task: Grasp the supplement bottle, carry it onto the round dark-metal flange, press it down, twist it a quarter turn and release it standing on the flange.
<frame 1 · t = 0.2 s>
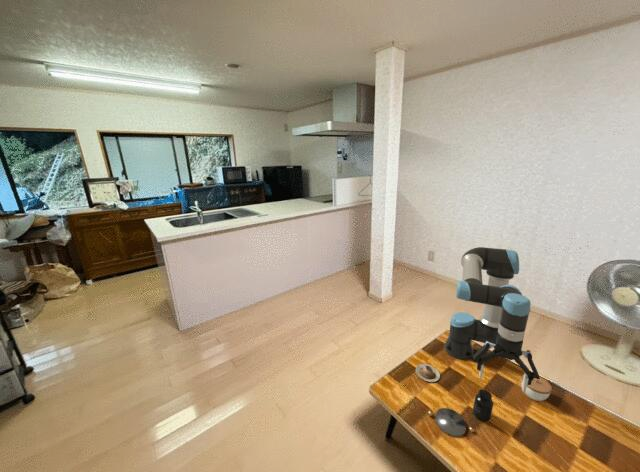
hand: (501, 383, 98), 27 cm above the table, fingers open, 13 cm apart
supplement bottle: (481, 415, 114), on the table
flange: (450, 422, 111), on the table
lidded jar: (533, 395, 122), on the table
grey ring with stone: (427, 374, 137), on the table
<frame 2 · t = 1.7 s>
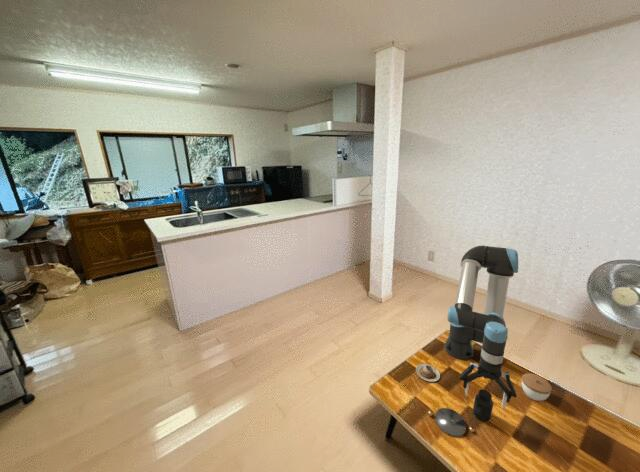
hand: (484, 399, 111), 9 cm above the table, fingers open, 13 cm apart
nothing on the table moved.
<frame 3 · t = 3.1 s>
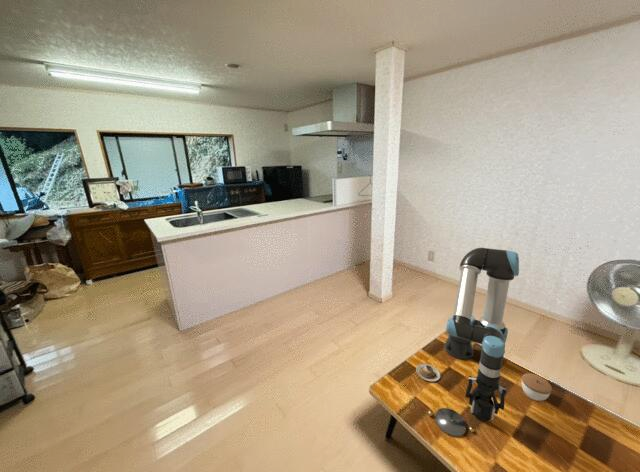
hand: (481, 413, 114), 1 cm above the table, fingers closed on supplement bottle, 7 cm apart
supplement bottle: (481, 415, 114), on the table, touching gripper
everything else where it was.
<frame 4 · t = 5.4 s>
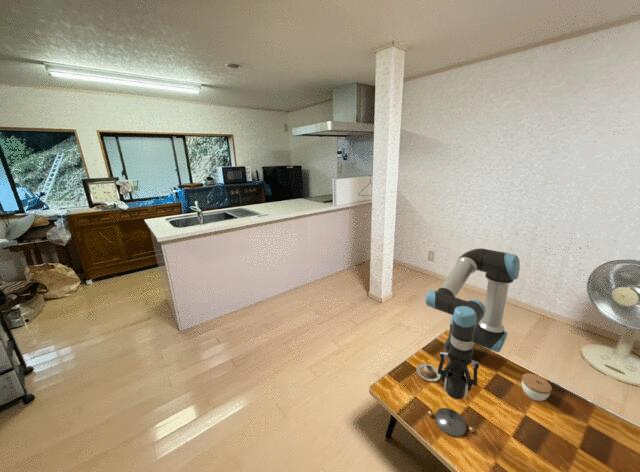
hand: (454, 391, 106), 17 cm above the table, fingers closed on supplement bottle, 7 cm apart
supplement bottle: (454, 393, 107), point 16 cm above the table, touching gripper
everything else where it was.
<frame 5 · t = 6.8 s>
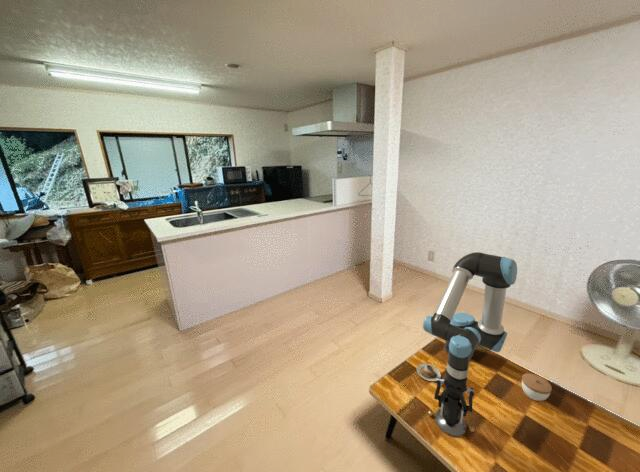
hand: (451, 416, 110), 4 cm above the table, fingers closed on supplement bottle, 7 cm apart
supplement bottle: (450, 417, 110), point 3 cm above the table, touching gripper
everything else where it was.
when the fingers open (2 cm above the table, at t = 7.8 s): supplement bottle stays where it is, resting on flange.
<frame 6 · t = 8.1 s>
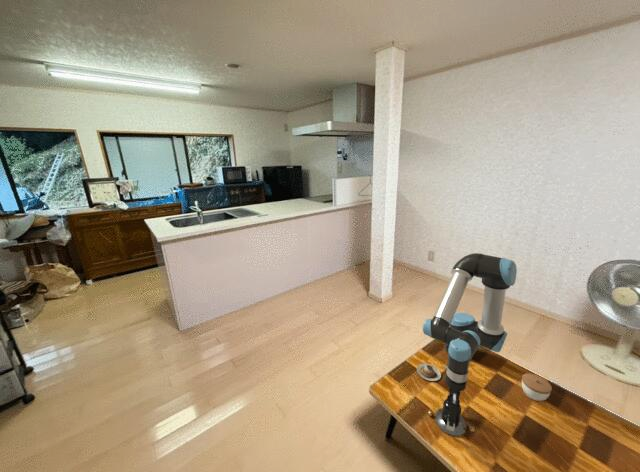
hand: (450, 417, 110), 3 cm above the table, fingers open, 11 cm apart
supplement bottle: (450, 420, 111), point 1 cm above the table, touching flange
everything else where it was.
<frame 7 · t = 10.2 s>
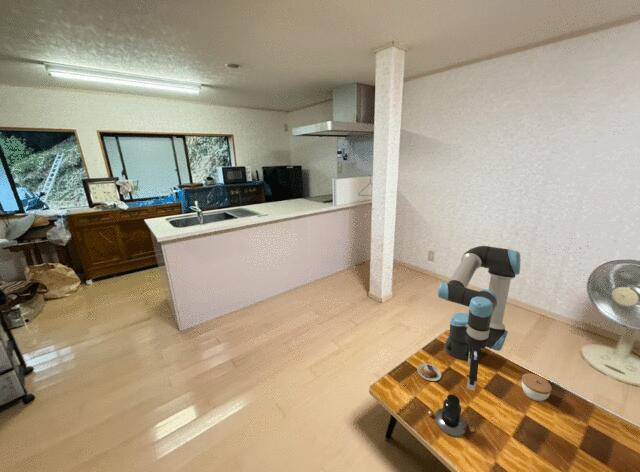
hand: (470, 376, 109), 21 cm above the table, fingers open, 13 cm apart
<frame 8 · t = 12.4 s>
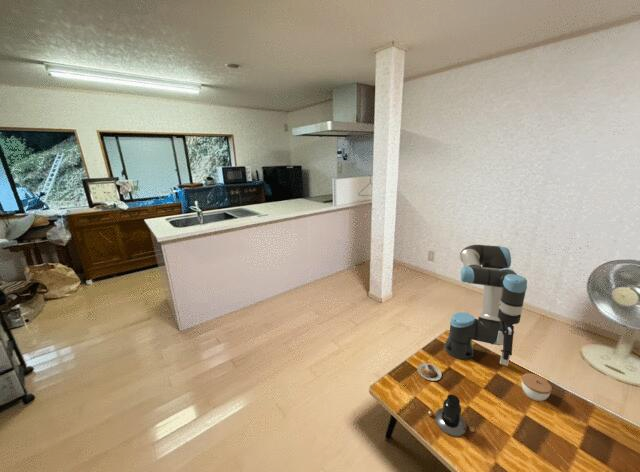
hand: (501, 353, 113), 27 cm above the table, fingers open, 13 cm apart
at the end: supplement bottle 0.1 cm from the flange (horizontally); supplement bottle tilted 0°; supplement bottle point 0.8 cm above the table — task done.
